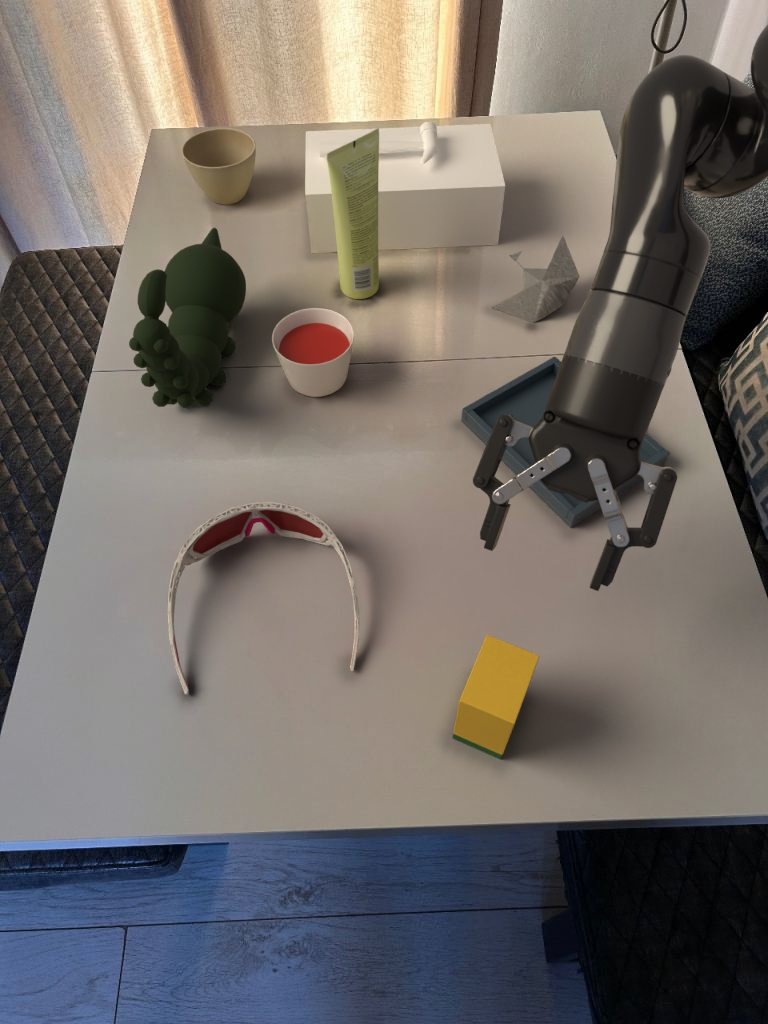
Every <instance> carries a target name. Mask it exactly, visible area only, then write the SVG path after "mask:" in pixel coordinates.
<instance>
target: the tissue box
mask: <svg viewBox="0 0 768 1024" xmlns="http://www.w3.org/2000/svg"><path fill="white" fill-rule="evenodd" d="M377 128H379V127H377ZM377 128H358V129H357V128H355V129H354V128H353V129H333V130H331V129H329V130H309V131H306V130H305V162H304V163H305V165H304V166H305V169H304V171H305V172H304V173H305V177H304V179H305V180H304V197H305V205H306V215H307V225H308V232H309V242H310V252H311V254H326V253H338V251H337V241H336V230H335V220H334V210H333V201H332V192H331V184H330V176H329V170H328V164H327V153H328V152H330V151H332V150H334V149H337V148H339V147H341V146H343V145H345V144H347V143H349V142H351V141H353V140H355V139H357V138H359V137H361V136H363V135H365V134H367V133H369V132H371V131H373V130H375V129H377ZM495 141H496V140H495V137H494V134H493V129H492V125H491V123H474V124H451V125H450V124H449V125H436V123H435V122H433V121H425V122H423V123H421V125H420V126H401V127H382V128H381V127H380V128H379V170H378V251H392V250H411V249H412V250H413V249H414V250H415V249H432V248H433V249H435V248H437V249H438V248H456V247H457V248H459V247H480V246H481V247H483V246H497V245H499V238H500V232H501V231H500V230H501V223H502V216H503V206H504V199H505V192H506V183H505V179H504V175H503V170H502V166H501V162H500V158H499V153H498V150H497V145H496V142H495Z"/></svg>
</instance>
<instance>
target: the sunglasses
mask: <svg viewBox="0 0 768 1024" xmlns="http://www.w3.org/2000/svg"><path fill="white" fill-rule="evenodd" d="M256 523H261V524H262V525H263V526H264V528H265V529H266V530H267V531H268V532H269V534H270V535H274V534H276V533H277V534H278V535H279V536H281V537H284V538H285V537H286V538H292V539H301V540H305V541H309V542H312V543H315V544H319V545H323V546H326V547H327V546H329V547H333V549H334V550H335V552H337V554H338V556H339V557H340V559H341V561H342V563H343V565H344V568H345V571H346V574H347V578H348V581H349V585H350V590H351V595H352V596H351V597H352V604H353V643H352V644H353V645H352V652H351V657H350V658H351V659H350V666H349V669H350V671H351V672H355V666H356V660H357V655H358V648H359V647H358V646H359V640H360V639H359V638H360V610H359V601H358V594H357V589H356V581H355V578H354V573H353V570H352V566H351V563H350V560H349V557H348V555H347V553H346V550H345V548H344V546H343V544H342V543H341V542H340V540H339V538H338V536H337V534H336V533H335V532H334V531H333V529H332V528H331V527H330V526H329V524H327V522H324V520H322V519H321V518H320V517H318V516H317V515H315V514H313V513H311V512H309V511H306V510H304V509H302V508H300V507H298V506H294V505H291V504H286V503H282V502H275V501H264V502H263V501H262V502H250V503H246V504H242V505H236V506H233V507H229V508H228V509H226V510H224V511H221V512H220V513H218V514H216V515H213V516H212V517H211V518H209V519H208V520H206V521H205V522H204V523H202V524H201V525H199V526H198V527H197V528H196V529H195V530H194V531H193V532H192V533H191V534H190V535H189V536H188V538H187V539H186V540H185V542H184V544H183V545H182V547H181V549H180V550H179V552H178V555H177V558H176V560H175V561H174V564H173V567H172V571H171V575H170V580H169V585H168V589H167V590H168V594H167V623H168V639H169V644H170V648H171V654H172V659H173V665H174V667H175V670H176V673H177V677H178V680H179V682H180V684H181V687H182V690H183V693H184V695H187V696H188V695H189V692H190V690H189V686H188V685H189V684H188V682H187V680H186V677H185V675H184V672H183V670H182V665H181V662H180V656H179V652H178V647H177V641H176V632H175V609H176V608H175V607H176V597H177V590H178V586H179V583H180V579H181V576H182V575H183V572H184V570H185V568H186V566H190V565H192V564H195V563H198V562H200V561H202V560H204V559H206V558H208V557H209V556H212V555H214V554H215V553H217V552H219V551H221V550H224V549H227V548H228V547H230V546H233V545H235V544H238V543H240V542H242V541H244V539H245V538H249V537H250V536H251V533H252V530H253V527H254V524H256Z"/></svg>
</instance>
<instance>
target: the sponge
mask: <svg viewBox="0 0 768 1024" xmlns="http://www.w3.org/2000/svg"><path fill="white" fill-rule="evenodd" d="M539 659H540V655H539V654H537V653H534V652H533V651H529V650H527V649H525V648H522V647H519V646H516V645H514V644H511V643H509V642H507V641H504V640H502V639H499V638H496V637H494V636H491V635H489V634H485V638H484V640H483V643H482V645H481V647H480V650H479V652H478V655H477V657H476V660H475V662H474V664H473V666H472V669H471V672H470V674H469V675H468V676H469V677H468V678H467V680H466V681H467V682H466V684H465V686H464V688H463V691H462V693H461V696H460V698H459V701H458V706H457V710H456V711H457V712H456V717H455V722H454V727H453V733H452V739H453V740H456V741H457V742H459V743H462V744H465V745H467V746H469V747H471V748H474V749H476V750H478V751H480V752H483V753H486V754H487V755H490V756H492V757H493V758H496V759H498V760H502V758H503V755H504V753H505V751H506V748H507V745H508V742H509V740H510V737H511V735H512V732H513V730H514V727H515V724H516V722H517V719H518V716H519V714H520V711H521V708H522V705H523V703H524V700H525V697H526V694H527V692H528V689H529V686H530V684H531V681H532V678H533V675H534V673H535V670H536V667H537V665H538V661H539Z"/></svg>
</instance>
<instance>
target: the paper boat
mask: <svg viewBox="0 0 768 1024" xmlns="http://www.w3.org/2000/svg"><path fill="white" fill-rule="evenodd" d="M521 254H522V250H520V251H519V252H515V253H513V254H509V257H510V258H511V259H512V260H513V261H514V262H515V263H517V265H518V266H519V267H520V268H521V269H522V271H523V273H522V274H523V286H524V289H523V290H521V291H520V292H518V293H516V294H514V295H512V296H511V297H509V298H506V299H505V300H503V301H502V302H500V303H498V304H495V305H494V306H492V307H491V309H494V310H496V311H499V312H503V313H505V314H508V315H511V316H514V317H516V318H519V319H522V320H525V321H528V322H531V323H536V322H538V321H540V320H542V319H545V318H546V317H547V316H548V315H550V314H552V313H553V312H555V311H556V310H558V309H559V308H561V307H562V306H563V305H564V304H565V302H566V301H567V300H568V298H569V296H570V295H571V293H572V292H573V290H574V289H575V287H576V285H577V283H578V281H579V279H580V274H579V271H578V269H577V267H576V263H575V261H574V258H573V256H572V254H571V250H570V249H569V246H568V244H567V241H566V239H565V237H564V235H563V234H562V235H561V236H560V239H559V242H558V244H557V246H556V248H555V251H554V253H553V255H552V258H551V259H550V262H549V264H548V266H547V268H537V267H536V268H533V267H524V266H522V265H521V263H519V262H518V261H517V260H518V258H519V257H520V256H521Z"/></svg>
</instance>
